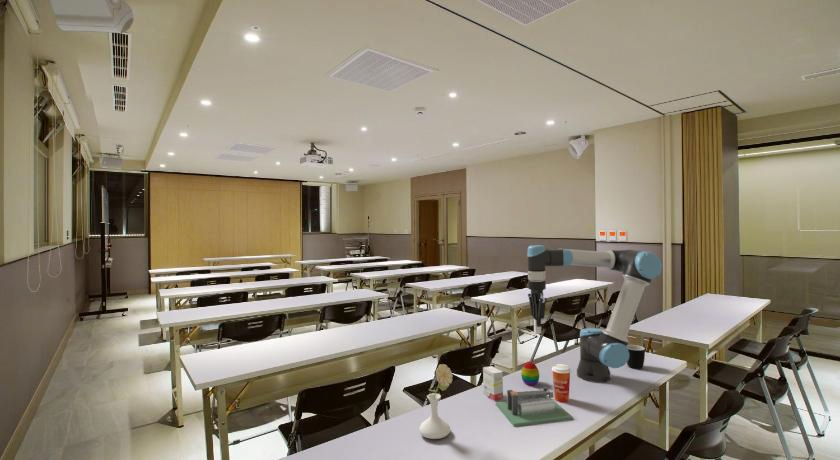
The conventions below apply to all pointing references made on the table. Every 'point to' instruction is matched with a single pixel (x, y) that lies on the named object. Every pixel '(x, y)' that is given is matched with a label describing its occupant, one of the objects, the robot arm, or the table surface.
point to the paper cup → (561, 382)
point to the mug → (636, 356)
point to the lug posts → (512, 402)
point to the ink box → (493, 383)
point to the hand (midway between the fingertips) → (537, 333)
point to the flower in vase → (434, 424)
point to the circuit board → (519, 421)
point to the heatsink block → (536, 405)
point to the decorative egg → (530, 374)
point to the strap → (530, 393)
